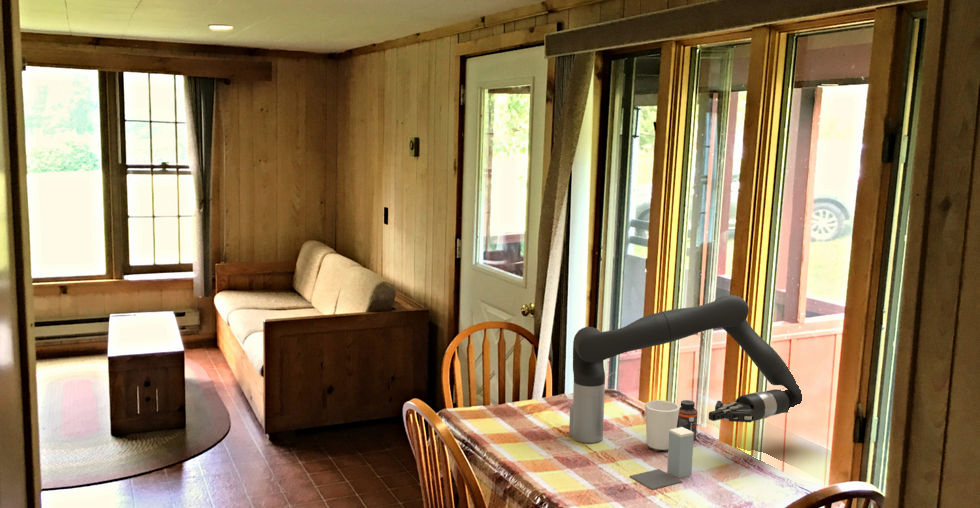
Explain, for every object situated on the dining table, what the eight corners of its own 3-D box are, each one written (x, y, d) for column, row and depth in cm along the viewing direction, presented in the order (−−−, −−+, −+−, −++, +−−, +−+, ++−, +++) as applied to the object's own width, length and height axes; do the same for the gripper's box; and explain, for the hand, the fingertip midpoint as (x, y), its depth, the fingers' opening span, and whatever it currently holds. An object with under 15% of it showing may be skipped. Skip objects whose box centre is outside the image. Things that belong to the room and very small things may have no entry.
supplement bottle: (696, 442, 241) (698, 406, 239) (675, 441, 242) (677, 404, 240) (695, 435, 247) (697, 399, 245) (675, 433, 248) (677, 398, 246)
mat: (629, 476, 216) (629, 475, 216) (658, 469, 221) (658, 468, 221) (652, 489, 208) (652, 488, 208) (681, 482, 213) (681, 481, 213)
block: (667, 472, 219) (669, 429, 218) (679, 469, 221) (682, 426, 220) (678, 478, 215) (681, 435, 214) (691, 475, 218) (693, 432, 216)
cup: (657, 456, 230) (659, 413, 228) (635, 444, 239) (637, 402, 237) (684, 450, 235) (686, 408, 233) (662, 439, 243) (664, 398, 241)
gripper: (738, 387, 235) (693, 396, 226) (775, 400, 223) (729, 410, 215) (737, 412, 236) (692, 422, 228) (773, 426, 225) (728, 437, 216)
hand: (710, 416), depth 221 cm, fingers closed
